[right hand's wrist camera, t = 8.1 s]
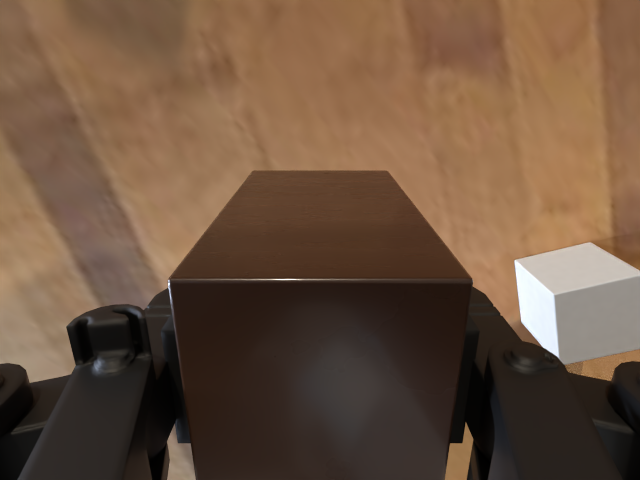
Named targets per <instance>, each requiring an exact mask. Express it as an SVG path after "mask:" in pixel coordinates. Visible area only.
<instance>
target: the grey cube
mask: <svg viewBox="0 0 640 480" xmlns="http://www.w3.org/2000/svg"><path fill="white" fill-rule="evenodd" d="M515 269H516V278H517V287H518V296H519V304H520V313H521V322H522V323H523V324H524V325H525V327H526V328H527V329H528V330H529V331H530V332H531V334H532V335H533V336H534V337H535V338H536V340H537V341H538V342H539V343H540V344H541V345H542V347H543V348H545V349H547V350H548V351H550V352H551V353H553V354H554V355H556V356H557V357H558V358H559V359H560V361H561V362H562V363H563V364H564V365H567V364H571V363H576V362H581V361H586V360H590V359H595V358H600V357H605V356H609V355H614V354H619V353H624V352H628V351H633V350H638V349H640V271H639V270H638V269H636V268H634V267H633V266H631V265H629V264H627V263H626V262H624V261H622V260H620V259H619V258H617V257H615V256H613V255H612V254H610V253H608V252H607V251H605V250H603V249H601V248H600V247H598V246H596V245H594V244H593V243H591V242H588V243H584V244H580V245H576V246H572V247H567V248H563V249H559V250H555V251H550V252H546V253H542V254H538V255H533V256H529V257H525V258H521V259H516V260H515Z"/></svg>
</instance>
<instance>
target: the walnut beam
mask: <svg viewBox="0 0 640 480" xmlns="http://www.w3.org/2000/svg"><path fill="white" fill-rule="evenodd" d="M472 285H473V280H472V278H471V276H470V275H469V274H468V273H467V271H466V270H465V269H464V268H463V266H462V265H461V264H460V262H459V261H458V260H457V259H456V257H455V256H454V255H453V254H452V252H451V251H450V250H449V248H448V247H447V246H446V245H445V243H444V242H443V241H442V240H441V238H440V237H439V236H438V234H437V233H436V232H435V231H434V229H433V228H432V227H431V226H430V224H429V223H428V222H427V220H426V219H425V218H424V217H423V215H422V214H421V213H420V212H419V210H418V209H417V208H416V206H415V205H414V204H413V203H412V201H411V200H410V199H409V198H408V196H407V195H406V194H405V192H404V191H403V190H402V189H401V187H400V186H399V185H398V184H397V182H396V181H395V180H394V178H393V177H392V176H391V175H390V173H389V172H388V171H252V172H251V174H250V175H249V176H248V177H247V179H246V180H245V181H244V183H243V184H242V185H241V186H240V188H239V189H238V190H237V192H236V193H235V194H234V195H233V197H232V198H231V199H230V200H229V202H228V203H227V204H226V206H225V207H224V208H223V209H222V211H221V212H220V213H219V215H218V216H217V217H216V218H215V220H214V221H213V222H212V224H211V225H210V226H209V227H208V229H207V230H206V231H205V233H204V234H203V235H202V236H201V238H200V239H199V240H198V241H197V243H196V244H195V245H194V247H193V248H192V249H191V250H190V252H189V253H188V254H187V256H186V257H185V258H184V259H183V261H182V262H181V263H180V265H179V266H178V267H177V268H176V270H175V271H174V272H173V274H172V275H171V276H170V277H169V279H168V287H169V294H170V301H171V308H172V315H173V322H174V329H175V336H176V343H177V350H178V357H179V364H180V371H181V378H182V385H183V392H184V399H185V406H186V413H187V420H188V427H189V434H190V441H191V448H192V455H193V462H194V469H195V476H196V480H445V473H446V466H447V459H448V452H449V445H450V438H451V431H452V424H453V417H454V410H455V403H456V396H457V390H458V383H459V376H460V369H461V362H462V355H463V348H464V341H465V334H466V327H467V320H468V313H469V306H470V299H471V292H472Z"/></svg>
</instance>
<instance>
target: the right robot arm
mask: <svg viewBox="0 0 640 480" xmlns="http://www.w3.org/2000/svg"><path fill="white" fill-rule="evenodd" d="M67 332H68V336H69V340H70V344H71V348H72V352H73V356H74V360H75V364H76V366H75V368H74V370H73V372H72V374H71V375H67V376H63V377H58V378H53V379H48V380H43V381H38V382H33V383H29V379H28V376H27V373H26V370H25V369H24V368H23V367H21V366H20V365H16V364H10V363H5V364H0V480H167V476H168V468H169V461H170V459H169V452H168V445H167V440H168V438H169V435H170V433H171V431H172V428H173V426H174V424H175V427H176V434H177V440H178V443H191V441H190V434H189V427H188V420H187V413H186V406H185V399H184V392H183V385H182V378H181V371H180V364H179V357H178V350H177V343H176V336H175V329H174V322H173V315H172V308H171V301H170V294H169V288H167V289H165V290H164V291H162V292H160V293H159V294H157V295H156V296H155V297H154V298H153V299H152V301H151V302H150V303H149V305H148V306H147V308H145V310H142V309H141V308H140V307H138V306H133V305H129V304H125V305H110V306H105V307H100V308H97V309H94V310H91V311H88V312H86V313H84V314H82V315H80V316H79V317H77V318H75V319H74V320H73V321H72V322H71V323H70V324H69V325H68V326H67ZM465 423H467V425H468V428H469V430H470V432H471V435H472V437H473V445H472V451H471V457H470V463H469V469H468V475H467V480H640V362H635V361H632V362H625V363H621V364H620V365H618V366H617V367H616V368H615V370H614V374H613V377H612V380H611V381H607V380H602V379H597V378H592V377H587V376H582V375H577V374H573V373H569V372H568V371H567V370H566V368H565V366H564V364H563V363H562V362H561V361H560V359H559V358H558V357H557V356H556V355H554V354H553V353H551V352H550V351H548V350H547V349H545V348H542V347H540V346H537V345H535V344H533V343H528V342H524V341H522V340H521V339H520V338H519V337H518V335H517V334H516V333H515V332H514V330H513V329H512V328H511V326H510V325H509V324H508V323H507V321H506V320H505V319H504V318H503V316H500V312H499V311H498V310H497V309H496V307H493V304H492V302H491V301H490V300H489V299H488V297H487V296H486V295H485V294H484V293H482V292H481V291H479V290H478V289H476V288H474V287H473V286H472V292H471V299H470V306H469V313H468V320H467V327H466V334H465V341H464V348H463V355H462V362H461V369H460V376H459V383H458V390H457V396H456V403H455V410H454V417H453V424H452V431H451V438H450V443H462V442H463V435H464V429H465Z"/></svg>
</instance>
